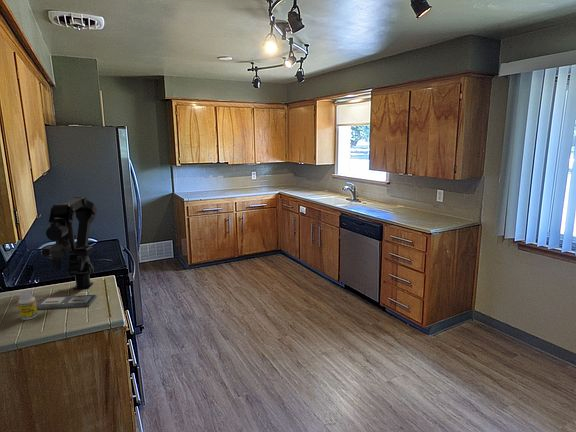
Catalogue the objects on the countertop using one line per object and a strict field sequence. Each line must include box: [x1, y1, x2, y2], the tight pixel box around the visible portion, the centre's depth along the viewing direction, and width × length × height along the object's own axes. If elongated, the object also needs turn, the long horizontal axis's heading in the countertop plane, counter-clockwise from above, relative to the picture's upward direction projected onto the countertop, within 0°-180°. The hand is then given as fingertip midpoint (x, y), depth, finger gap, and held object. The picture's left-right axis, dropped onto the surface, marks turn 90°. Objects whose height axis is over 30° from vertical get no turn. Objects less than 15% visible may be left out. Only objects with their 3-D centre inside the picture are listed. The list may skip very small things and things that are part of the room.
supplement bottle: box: [17, 290, 38, 321], centre depth 142 cm, size 5×5×10 cm
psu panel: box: [36, 294, 98, 310], centre depth 154 cm, size 9×20×2 cm, turn 98°
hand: (70, 270), depth 158 cm, fingers open, 9 cm apart
